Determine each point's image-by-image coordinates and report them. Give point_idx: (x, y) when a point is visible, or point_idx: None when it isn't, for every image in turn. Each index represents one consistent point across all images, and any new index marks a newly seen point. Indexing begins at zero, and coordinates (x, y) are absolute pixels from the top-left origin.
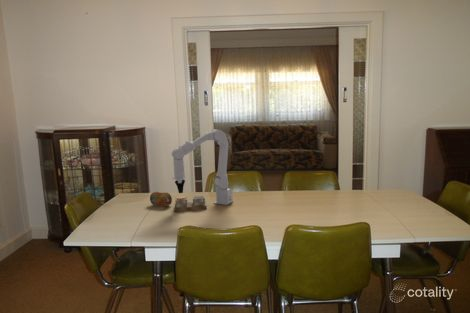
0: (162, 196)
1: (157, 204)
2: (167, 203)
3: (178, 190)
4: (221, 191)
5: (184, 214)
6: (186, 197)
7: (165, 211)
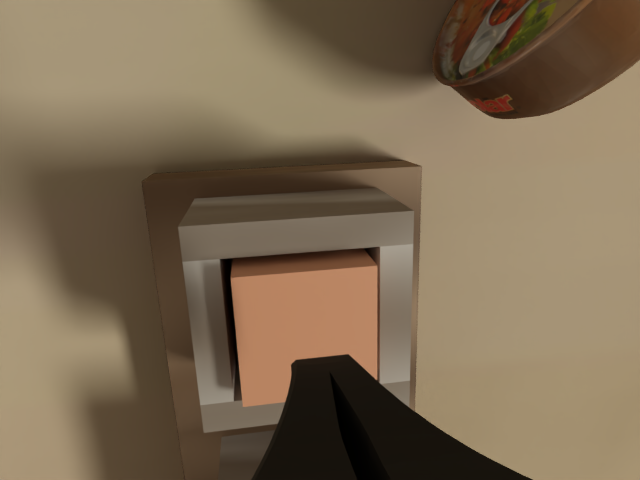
0: None
1: None
2: (465, 38)
3: (287, 399)
4: None
5: (7, 316)
6: None
7: (206, 23)
